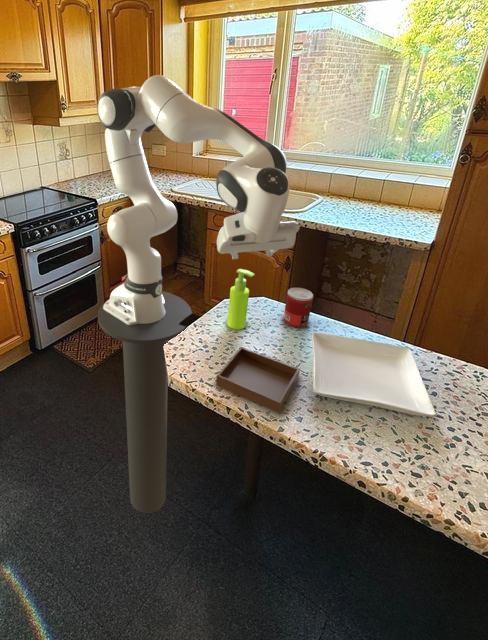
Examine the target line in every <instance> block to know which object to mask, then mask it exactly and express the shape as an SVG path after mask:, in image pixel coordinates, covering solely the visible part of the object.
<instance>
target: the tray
mask: <svg viewBox="0 0 488 640" xmlns="http://www.w3.org/2000/svg"><path fill="white" fill-rule="evenodd" d="M300 371H301V369H300V368H298V367H296V366H294V365H290V364H288V363H285V362H282V361H280V360H277V359H275V358H272V357H269V356H267V355H264V354H262V353H258V352H256V351H253V350H251V349H248V348H245V347H243V346H240V347H239V348H238V350H237V351H236V352H235V353H234V355H232V356H231V358H230V359H229V360H228V361H227V363H226V364H225V365H224V366H223V368H222V369H220V371H219V372H218V373H217V375H216V380H215V385H216V386H217V387H219V388H220V389H221V388H222V389H224V390H226V391H228V392H230V393H233V394H235V395H237V396H239V397H241V398H244V399H246V400H248V401H251V402H252V403H255V404H257V405H259V406H262V407H264V408H266V409H268V410H270V411H272V412H274V413H277V414H279V413H281V412H280V411H281V410H282V408H283V407H284V405H285V403H286V401H287V399H288V397H289V396H290V394H291V392H292V390H293V389H294V387H295V385H296V383H297V381H298V380H299V376H300Z"/></svg>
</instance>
